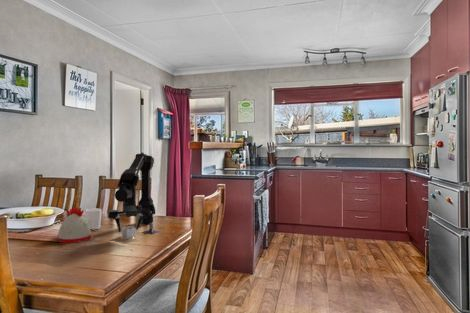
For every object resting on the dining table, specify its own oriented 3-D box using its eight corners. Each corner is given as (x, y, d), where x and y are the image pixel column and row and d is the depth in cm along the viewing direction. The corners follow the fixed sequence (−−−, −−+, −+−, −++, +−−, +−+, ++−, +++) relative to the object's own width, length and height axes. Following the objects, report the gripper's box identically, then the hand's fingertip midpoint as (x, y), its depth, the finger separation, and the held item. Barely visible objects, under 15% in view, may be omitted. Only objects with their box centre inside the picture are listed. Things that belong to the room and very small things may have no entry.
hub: (117, 239, 143) (117, 229, 143) (128, 236, 149) (128, 226, 149) (128, 242, 140) (128, 231, 140) (139, 238, 146) (139, 228, 146)
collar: (120, 236, 145) (120, 227, 145) (133, 234, 148) (133, 225, 148) (122, 239, 140) (122, 230, 140) (136, 237, 143) (136, 228, 143)
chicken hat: (76, 244, 135) (77, 210, 134) (50, 241, 137) (51, 208, 137) (96, 235, 148) (97, 205, 148) (72, 233, 151) (73, 203, 151)
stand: (140, 234, 153) (141, 223, 153) (150, 231, 159) (150, 221, 159) (151, 236, 150) (151, 225, 150) (160, 233, 156) (161, 222, 156)
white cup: (97, 230, 158) (97, 211, 158) (82, 229, 158) (82, 210, 158) (103, 226, 166) (104, 208, 165) (89, 226, 166) (90, 208, 166)
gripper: (110, 202, 132) (109, 237, 133) (153, 199, 142) (152, 232, 142) (107, 198, 142) (106, 231, 142) (147, 196, 151) (146, 227, 152)
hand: (128, 230), depth 144 cm, fingers open, 8 cm apart
